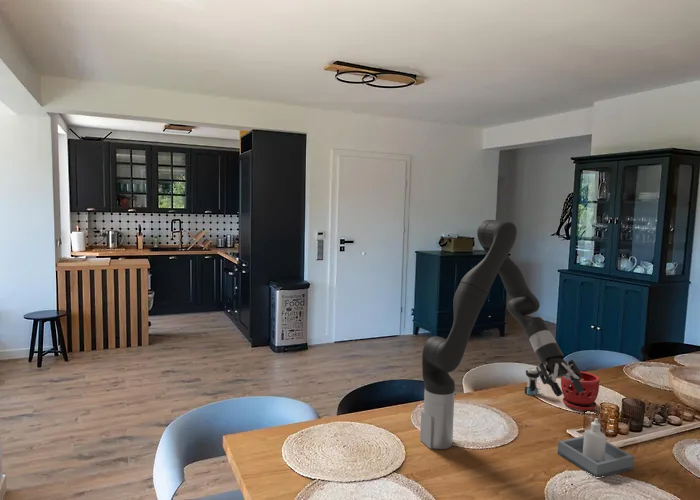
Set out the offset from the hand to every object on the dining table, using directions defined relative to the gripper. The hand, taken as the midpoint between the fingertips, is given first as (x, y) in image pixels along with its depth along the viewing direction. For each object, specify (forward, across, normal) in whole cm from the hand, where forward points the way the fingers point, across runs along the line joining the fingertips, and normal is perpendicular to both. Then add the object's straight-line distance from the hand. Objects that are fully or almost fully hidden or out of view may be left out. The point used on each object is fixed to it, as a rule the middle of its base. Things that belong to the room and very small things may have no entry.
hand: (570, 393), depth 147 cm
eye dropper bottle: (+18, 0, +4) cm, 19 cm away
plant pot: (-4, +28, +28) cm, 40 cm away
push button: (-14, +20, +38) cm, 46 cm away
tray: (+19, 0, +5) cm, 20 cm away
